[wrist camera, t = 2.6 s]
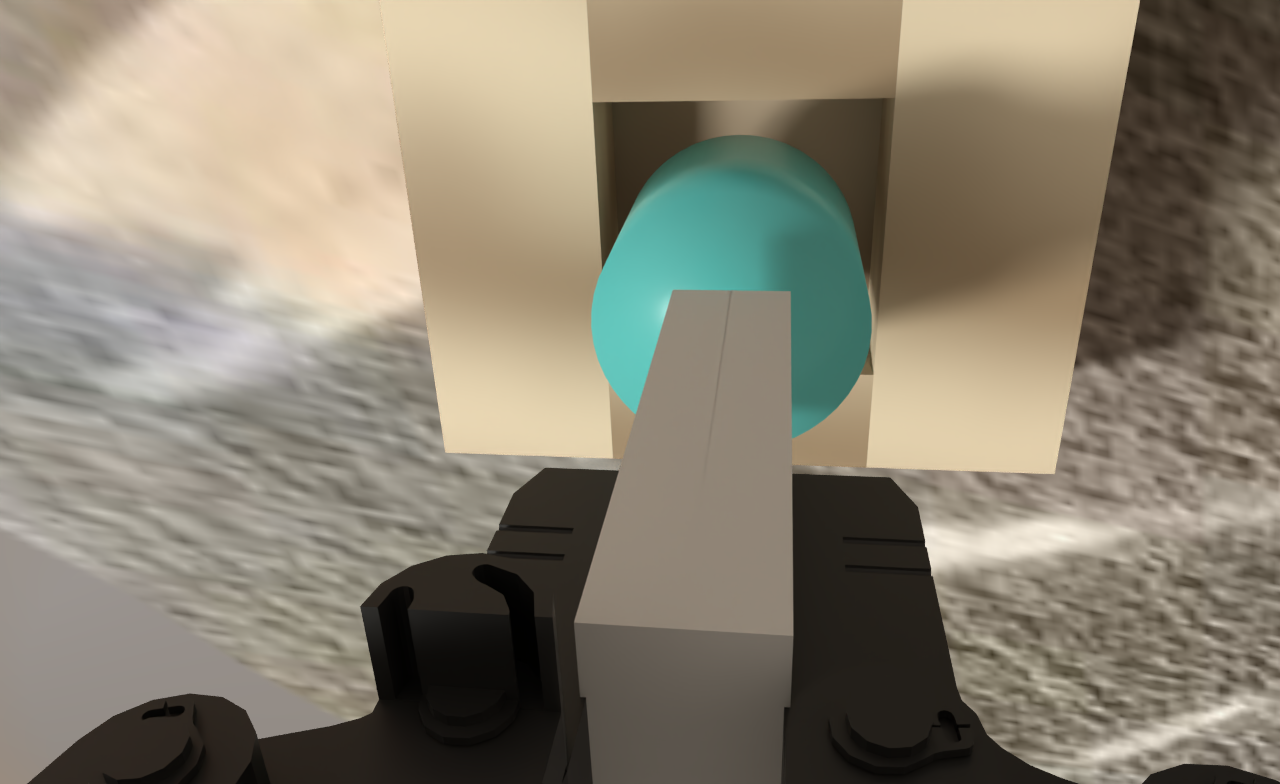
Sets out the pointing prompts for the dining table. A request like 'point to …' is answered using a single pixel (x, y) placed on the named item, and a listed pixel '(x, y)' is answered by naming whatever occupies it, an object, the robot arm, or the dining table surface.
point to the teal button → (739, 264)
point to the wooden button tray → (805, 119)
